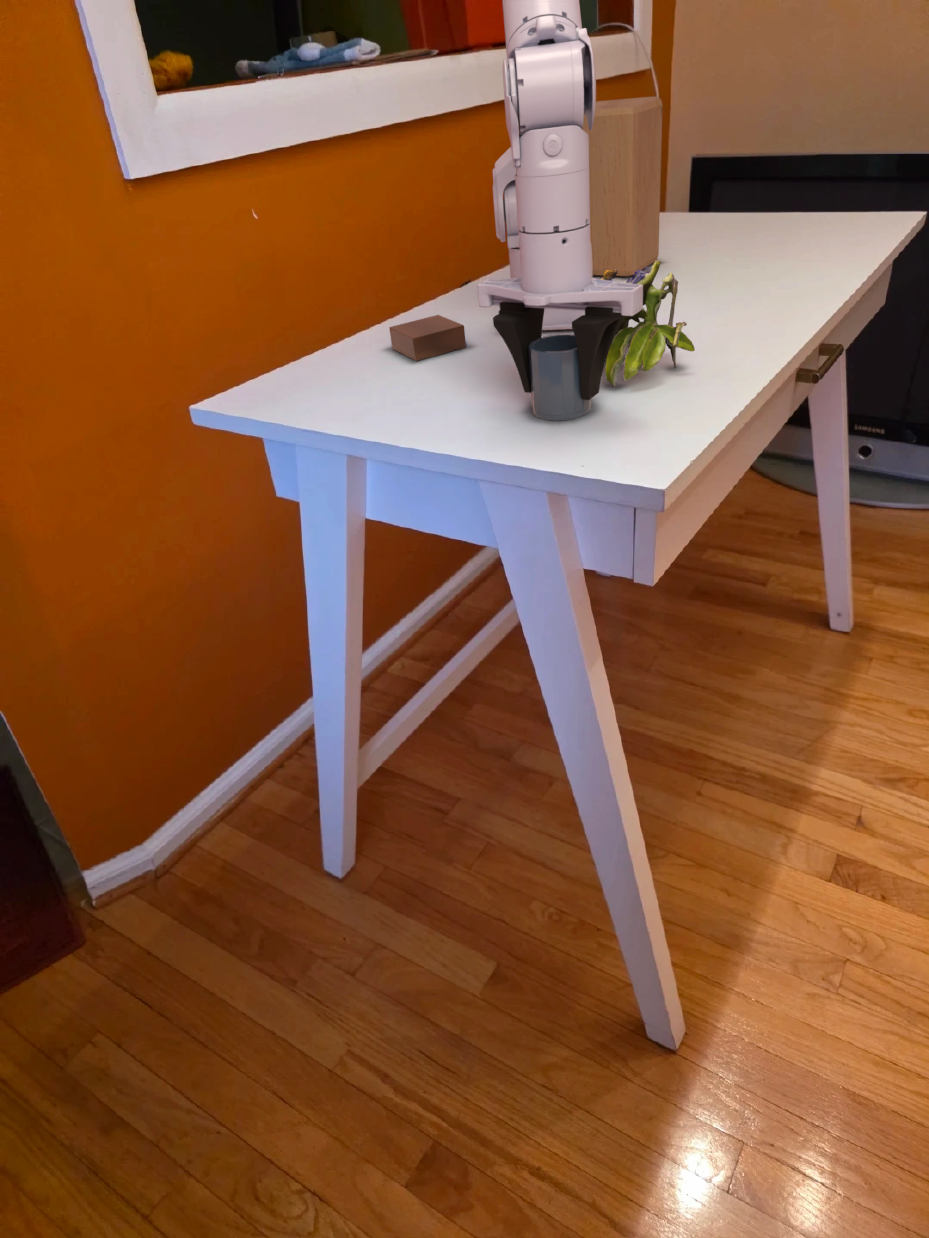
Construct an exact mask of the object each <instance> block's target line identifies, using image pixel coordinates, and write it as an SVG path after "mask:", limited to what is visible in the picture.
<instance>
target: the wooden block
mask: <svg viewBox="0 0 929 1238" xmlns="http://www.w3.org/2000/svg"><path fill="white" fill-rule="evenodd" d="M583 130H584V131H585V132H586V133H587V134H588V135H589V183H590V241H591V247H592V272H593V277H603V275H604V273H605V272H606V271H607V270H612V271H613V270H615V269H617V270H618V273H617V274H616V276H615V277H622V278H623V277H625V278H626V277H627V278H629V277H633V275H634V273H635V272H636V271H638V270H642V271H643V270H644V269H645V268H646V267H648V266H650V265H652V264H654V262H655V261H656V260H658V257H659V254H660V253H659V252H660V251H659V248H660V215H661V213H660V211H661V175H662V143H663V142H662V139H663V136H662V135H663V101H662V98H660V97H658V96H655V95H654V96H645V97H644V96H643V97H632V98H620V99H610V100H609V99H608V100H596V107H595V115H594V121H593V127H592V130H589V127H588V123H587V117H586V116H585V114H584V120H583Z"/></svg>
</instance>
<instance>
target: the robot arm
mask: <svg viewBox="0 0 929 1238" xmlns="http://www.w3.org/2000/svg"><path fill="white" fill-rule="evenodd" d="M502 12H503V13H502V14H503V26H504V39H505V52H506V58H505V57H504V58H503V61H502V80H503V81H502V83H503V97H504V99H503V100H504V112H505V113H504V115H505V124H506V130H507V134H508V138H509V142H510V147H509V148H507V149H506V151H505V152H504V153H503V154H501V156H500V157H499V158H498V159H497V160H496V161H495V162H494V167H493V169H492V181H493V182H492V183H493V184H492V196H493V198H492V199H493V211H494V225H495V235H496V238H497V239H498V240H500V241H499V242H501V243H504V242H506V244H507V248H508V261H509V274H510V276H509V277H510V278H487V279H485V280H483V281H481V282H478V283H477V285H476V287H477V298H478V306H479V307H480V308H491V307H493V306H496V307H497V306H498V307H499V310H498V314H496V315H494V316H493V317H492V324H493V327H494V329H495V330H496V331H497V333H498V334H499V335H500V337H501V338H502V340H503V342H504V343H505V345H506V347H507V349H508V351H509V353H510V355H511V358H512V359H513V361H514V364H515V367H516V370H517V372H518V376H519V378H520V382H521V385H522V388H523V392H524V393H525V394H531V379H530V362H529V344H530V343H531V342H532V341H534V340H536V339H538V338H541V337H542V336H543V335H542V333H543V331H559V330H560V331H561V330H572V332H573V334H574V335H575V339H576V344H577V349H578V355H579V362H580V391H581V397H582V399H583V400H590V399H591V400H592V399H593V398H594V397H595V396H596V395H599V393H600V388H601V381H602V377H603V373H604V370H605V366H606V358H607V355H608V352H609V349H610V347H611V344H612V342H613V339H614V337H615V335H616V333H617V330H618V328H619V326H620V324H621V322H622V321H623V319H624V316H633V315H635V314H636V313H638V312H639V311H641V310H642V309H643V308H644V305H643V285H638V284H627V283H626V282H620V281H613V280H611V281H608V280H602V279H600V278H598V279H596V278H597V277H594V276H593V272H592V247H591V241H590V183H589V135H588V134H587V133H586V132H585V131H584V130H583V120H584V114H585V116H586V117H587V123H588V127H589V130H592V127H593V121H594V115H595V107H596V102H597V76H596V75H597V74H596V62H595V56H594V52H593V47H592V42H591V38H590V36H589V35H588V29H587V28H586V27H584V28H583V25H582V24H583V23H582V15H581V4H580V0H502Z"/></svg>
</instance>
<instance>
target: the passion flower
mask: <svg viewBox="0 0 929 1238" xmlns="http://www.w3.org/2000/svg"><path fill="white" fill-rule="evenodd" d="M661 263H662V262H661V260H660V259H657V260H656V261H654V262H653V265H651V269H650V267H648V266H647V267H645V268H643V269H642V270H638V271H636V272H635V273H634V275H632V276H631V278H628V279H627V280H626V282H625V283H627V284H638V285H643V306H645V307H646V309H645V308H644V307H643V309H642V310H641V311H639V312H638V313H636V314H635V315H633V316H624V319H623V321H622V322H621V324H620V326H619V328H618V330H617V333H616V335H615V337H614V339H613V342H612V344H611V347H610V349H609V352H608V355H607V358H606V362H605V367H604V372H605V380H606V381H607V382H608V383H610V384H611V385H612V388H615V387H616V383H617V382H616V381H617V376H618V374H619V372H620V370H621V368H622V366H623V373H622V375H623V380H624V381H629V380H631V379H632V378H634V377H635V376H637V375H638V374H639V373H640V372H644V373H646V372H649V371H651V369H652V368H654V367H655V366H656V365H657V364H658V363H659V362H660V360H661V359H662V357H663V355H664V354H665V351H666V347H667V348H668V349H669V352H670V355H671V360H672V363H673V368H674V369H677V359H676V358H677V357H676V356H677V353H676V351H677V349H678V348H679V349H681V350H684V351H686V352H687V351H689V352H695V351H696V350H695V346H694V343H693V342H692V340H691V339H690V338H689V337H688V336H687V335H686V334H685V333H684V332H683V331H682V329H683V328H684V327H685V326H686V327H687V325H688V323H687V322H686V321H682V322H680V321H679V322H676V323H675V326H674V325H673V324H674V316H675V308H676V307H675V306H676V301H677V296H678V295H677V294H678V289H679V287H678V285H679V281H678V280H677V279H676V278H675V275H674V274H673V272H669V273H668V274H667V276H666V277H665V278H663V279H662V280H661V281H662V284H661V287H660V288H656V287H655V285H653V282H654V281H655V278H656V276H657V274H658V272H659V270H660V266H661ZM617 273H618V270H617V269H615V270H613V271H612V270H607V271H606V272H605V273H604V275H603V276H600V277H599V278H598V277H595V278H596V279H602V280H608V281H613V280H614V278H615V277H617V276H616V274H617ZM667 286H668V288H667V289H665V288H666V287H667ZM670 293H671V297H672V298H671V304H670V305H671V306H670V310H669V312H670V313H669V320H668V322H667V324H659V323H658V321H657V317H658V313H659V311H660V307H661V304H662V300H664V299H665V298H667V295H668V294H670ZM640 319H643V321H641V320H640ZM630 320H632V321H634V322H636V323H637V324H636V325H635V326H634V327H633V326H629V324H630ZM627 351H628V352H627ZM623 364H624V365H623Z"/></svg>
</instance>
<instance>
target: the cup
mask: <svg viewBox="0 0 929 1238" xmlns="http://www.w3.org/2000/svg"><path fill="white" fill-rule="evenodd" d="M529 362H530V379H531V393H530V394H531V408H532V413H533V415H534V416H535V417H536V418H538V419H541V420H545V421H553V422H559V421H561V422H562V421H569V420H576V419H578V418H581V417H584V416H585V415H587V414H588V413H589V412H590V411H591V409H592V398H591V399H590V400H583V399H582V397H581V391H580V362H579V355H578V349H577V344H576V339H575V335H574V333H556V334H550V335H545V336H541V338H538V339H536V340H534V341H532V342H531V343H530V344H529Z"/></svg>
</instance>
